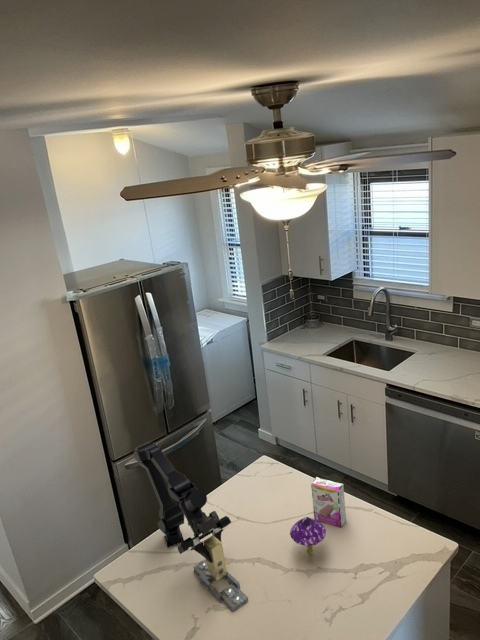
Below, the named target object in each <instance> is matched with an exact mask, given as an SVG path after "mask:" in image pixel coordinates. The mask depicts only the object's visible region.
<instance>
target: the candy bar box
mask: <svg viewBox="0 0 480 640" xmlns="http://www.w3.org/2000/svg"><path fill="white" fill-rule="evenodd" d="M310 485H311V487H310V488H311V497H312V505H313V506H312V507H313V517H314V518H313V519H314V520H316V521H319V522H320V523H324V524H327V525H332V526H335V527H336V528H337V527H338V528H342V527H343V526H344V524H345V523H346V521H347V516H346V515H347V514H346V502H345V501H346V500H345V487H344V483H340V482H337V481H332V480H328V479H325V478H321V477H318V476H316V477H315V478H314V480H313V481H311V484H310Z"/></svg>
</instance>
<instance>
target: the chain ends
mask: <svg viewBox="0 0 480 640" xmlns="http://www.w3.org/2000/svg"><path fill="white" fill-rule="evenodd" d="M193 572H194V573H195V574H196V575H197V576H198V577H199V581H200V584H202V586H204V587H205V588H206V589H207V591H209V592H210V594H211V595H212V596H213V597H215V599H216V600H217V601H218V602H219V603H221V604H222V603H224V604H225V605H226V606H227V607H228V608H229V609H230V610H231V611H232V612H235V611H237V610H238V609H239V608H241V607H242V606H243V605H245V604H247V603H248V602H249V597H248V596H247V595H246V594H245V593H244V592H243V591H242V590H241V585H240V584H241V583H240V582H239V581H238V580H237V579H236V578H235V577H234V576H233V575H232V574H231V573H229V571H227V574H226V575H225V576H223V577H222V578H224V579H225V580H226V581H227V582H229V584H230V585H228V586H226V587H225V588H224V589H222V590H221V591H218V589H217V588H216V587H215V586H214V585H213V584H212V583H211V582H212V581H213V580H216V579H215V578H214V577H213V576H212V575H211V574H210V573H209V572H208V566H207V560H206V559H204V560H201V561H200V562H199V563H198V564H197V565H195V566H194V567H193Z"/></svg>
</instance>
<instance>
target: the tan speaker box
mask: <svg viewBox="0 0 480 640" xmlns="http://www.w3.org/2000/svg"><path fill="white" fill-rule="evenodd" d="M202 541H203V544H204V547H205V549H206V550H207V552H208V554H209V555H210V557H211V559H212V563H210V562H209V561H208V560H207V559H205V560H207V566H208V572H209V573H210V574H211V575H212V576H213V577H214V578H215V579H214V580H216V581H219V580H220V579H222V578H224V577H223V576H225V575H226V574H227V572H228V570H227V566H226V561H225V560H226V559H225V553H224V547H223V542H222V541H221V542H220V541H219V540H218V539H217V538H216V537H215V536H214V535H212V536H210V537H208V538H206V539H204V540H202Z"/></svg>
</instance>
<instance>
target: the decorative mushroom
mask: <svg viewBox="0 0 480 640" xmlns="http://www.w3.org/2000/svg"><path fill="white" fill-rule="evenodd" d="M289 535H290V537H291V540H293V541H294V542H295V543H296V544H298V545H301V546H304V547H305V546H306V549H307V551H306V552H307V554H308V555H312V554H313V553H314V550H313V546H315V545H317V544H319V543H321V542H322V541H323V540H324V539H325V537H326V535H327V530H326V527H325V526H324V525H323V524H322V522H321V521H317V520H315V519H314V518H312V517H309V516H305V517H303V518H301V519H299V520H298V521H296V522H295V523H294V524H293V526H291V528H290V530H289Z"/></svg>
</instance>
